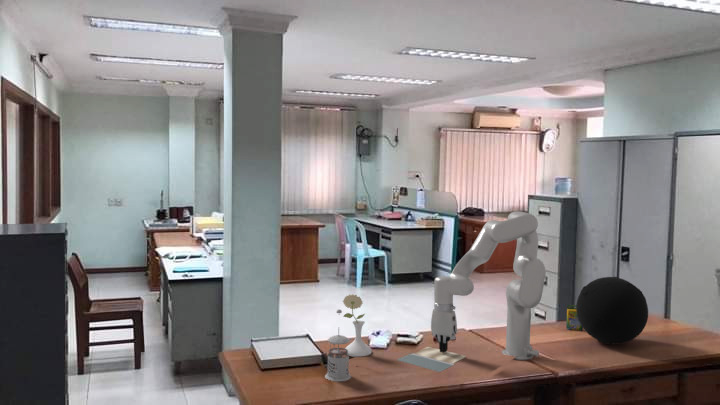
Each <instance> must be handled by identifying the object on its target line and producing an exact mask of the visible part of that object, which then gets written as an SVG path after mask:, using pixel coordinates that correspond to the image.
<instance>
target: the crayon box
mask: <svg viewBox="0 0 720 405" xmlns="http://www.w3.org/2000/svg"><path fill="white" fill-rule="evenodd" d="M566 307H567V308H566V327H565V328H566V330H568V331H569V330H570V331H571V330H572V331H583V330H584V329H583V327H582V326H581V324H580V322H579V320H578V317H577V312H576V305H573V304H567V306H566Z"/></svg>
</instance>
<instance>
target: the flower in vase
mask: <svg viewBox="0 0 720 405" xmlns="http://www.w3.org/2000/svg"><path fill="white" fill-rule="evenodd" d="M342 302H343V305H344V307H346V308H347V309H351V313H352V314H351V313H349V312H346V313H345V314H344V315H343V316H342V317H343V318H347V319H351V318H352V317H353V318H354V319H355V320H353V321H352V324H353V326H354V329H355V338H354V340H353V341H352V342H351V343H348V345H347V346H346V347H345V348H344V349H347V350H348V352H347V353H348V354H349V357H352V358H357V357H367V356H369V355H372V352H373V350H372V348H371V347H370V346H369V345H368V344H366V342H364V340H362V329H363V326H364V324H365V321H363V320H359V319H362V318H363V317H364V316H365V315H366V313H362V314H359V315H358V316H357V317H356V316H355V315H354V310H355V309H356V310H357V309H360V308H361V307H362V306H363V302H364V301H363V300H362V298H361V297H360V296H358V295H357V294H352V293H351V294H348V295H346V296H345V297H344V298H343V300H342Z"/></svg>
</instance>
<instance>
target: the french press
mask: <svg viewBox="0 0 720 405" xmlns="http://www.w3.org/2000/svg"><path fill="white" fill-rule="evenodd" d="M342 312H343V311H342V309H337V310H336V314H342ZM337 330H338V334H336V335H332V336H330V337H329V338H327V342H329V347H331V346H332V345H333V348H329V349H328V354H327V372H326V374H325V375H324V379H326V380H327V379H328V381H330V380H331V382H346V381H348V380H350V379H351V378H352V375H351V374H350V368H349V367H350V356H349V354H348V353H347V352H348V350H347V349H345V348H344V347H340V345H345V344H349V342H350V340H351V339H350V338H348V337H347V336H345V335H341V334H340V328H338V329H337ZM336 345H337V347H335V346H336Z"/></svg>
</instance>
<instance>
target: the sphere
mask: <svg viewBox="0 0 720 405" xmlns="http://www.w3.org/2000/svg"><path fill="white" fill-rule="evenodd" d="M575 308H576V312H577V317H578V320H579V322H580V324H581V326H582V327H583V330H584V331H585V332H586V334H588V335H589V336H590V337H591V338H593V339H595V340H596V341H598V342H600V343H602V344H604V345H605V344H606V345H620V344H621V345H622V344H625V343H628V342H631V341H632V340H634V339H636V338H637V337H639V335H641V334H642V332H643V331H644V329H645V327H646V326H647V323H648V318H649V308H648V303H647V299H646V296H644V293H643V291H642V290H640V288H638V287H637V286H636V285H634V284H633V283H631V282H630V281H628V280H625V279H624V278H620V277H618V276H605V277H600V278H599V277H598V278H596V279H594V280H592V281H590V282H589V283H587V284H586V285H584V286H583V287H582V288H581V290H580V292H579V295H578V297H577V301H576V306H575Z"/></svg>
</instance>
